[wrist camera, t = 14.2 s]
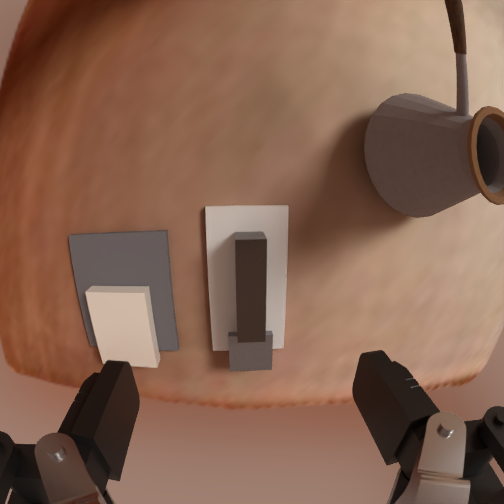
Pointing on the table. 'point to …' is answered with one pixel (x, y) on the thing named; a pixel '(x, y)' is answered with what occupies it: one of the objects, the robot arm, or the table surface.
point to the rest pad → (223, 266)
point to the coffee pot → (436, 145)
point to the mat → (127, 274)
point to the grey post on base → (250, 305)
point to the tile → (124, 324)
